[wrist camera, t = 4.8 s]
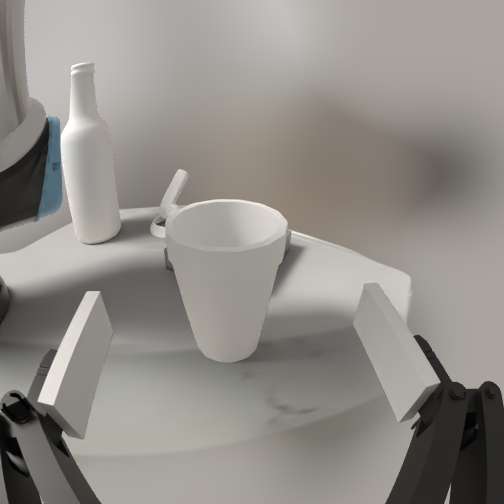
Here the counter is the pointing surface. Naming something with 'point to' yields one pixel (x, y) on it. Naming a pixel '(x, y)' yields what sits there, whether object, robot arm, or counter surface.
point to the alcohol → (89, 163)
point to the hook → (169, 203)
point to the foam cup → (226, 271)
